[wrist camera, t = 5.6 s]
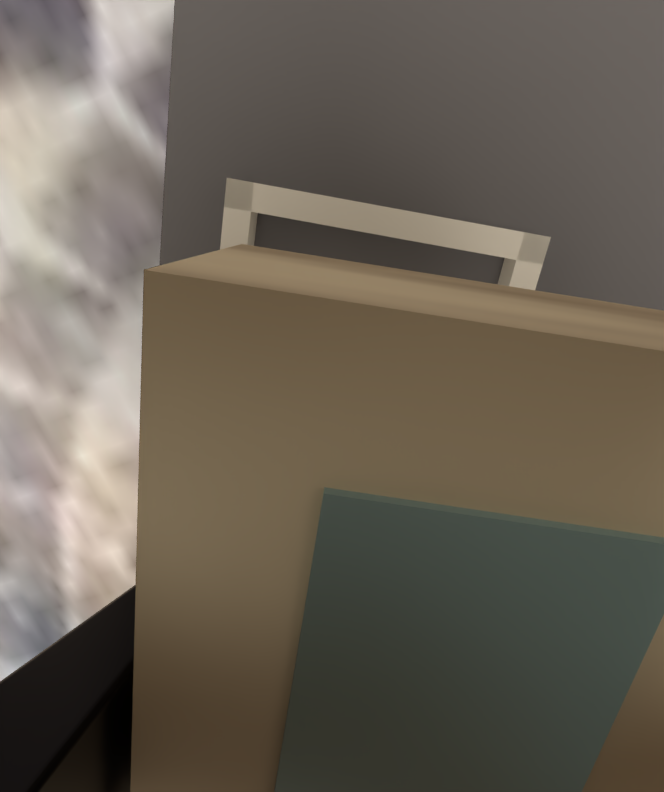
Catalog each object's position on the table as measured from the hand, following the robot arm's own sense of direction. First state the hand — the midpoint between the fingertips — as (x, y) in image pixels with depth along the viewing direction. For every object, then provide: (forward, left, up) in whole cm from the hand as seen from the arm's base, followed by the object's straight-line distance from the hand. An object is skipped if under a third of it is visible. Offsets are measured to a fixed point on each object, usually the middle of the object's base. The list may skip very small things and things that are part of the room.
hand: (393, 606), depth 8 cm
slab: (0, 0, -1) cm, 1 cm away
